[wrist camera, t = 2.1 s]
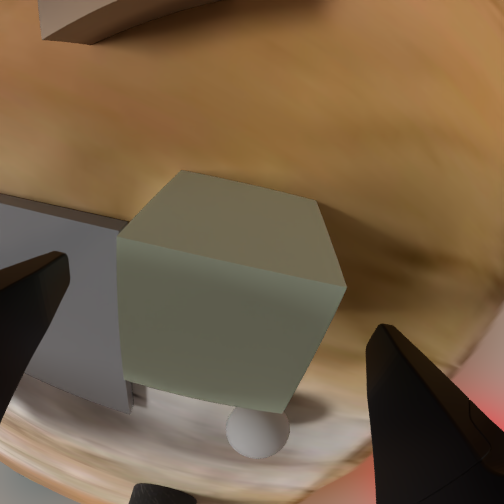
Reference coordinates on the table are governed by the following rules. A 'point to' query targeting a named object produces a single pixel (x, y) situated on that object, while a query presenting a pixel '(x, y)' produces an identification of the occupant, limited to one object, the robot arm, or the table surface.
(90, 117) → the table surface
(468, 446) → the robot arm
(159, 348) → the sage block
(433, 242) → the table surface
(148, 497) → the travel mug
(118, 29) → the walnut block
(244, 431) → the grey ball
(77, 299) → the plate
